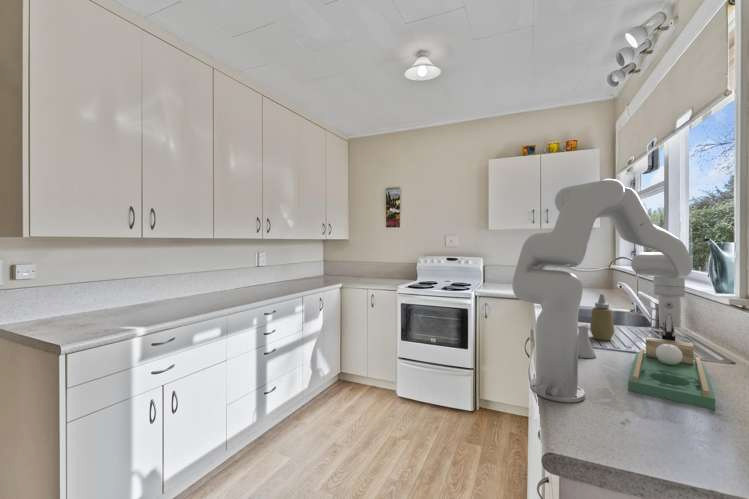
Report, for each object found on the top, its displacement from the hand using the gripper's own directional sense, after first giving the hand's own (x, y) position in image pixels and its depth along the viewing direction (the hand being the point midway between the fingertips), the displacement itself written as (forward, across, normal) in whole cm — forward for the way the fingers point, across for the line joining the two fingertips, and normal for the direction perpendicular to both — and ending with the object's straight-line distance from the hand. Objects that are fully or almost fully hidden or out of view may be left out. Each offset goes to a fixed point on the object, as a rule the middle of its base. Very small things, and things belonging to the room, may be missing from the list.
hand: (668, 347), depth 108 cm
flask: (+5, -10, +22) cm, 25 cm away
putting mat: (+5, -20, 0) cm, 20 cm away
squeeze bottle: (+5, +16, +20) cm, 26 cm away
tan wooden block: (+2, -7, 0) cm, 7 cm away
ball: (-1, -12, 0) cm, 13 cm away
